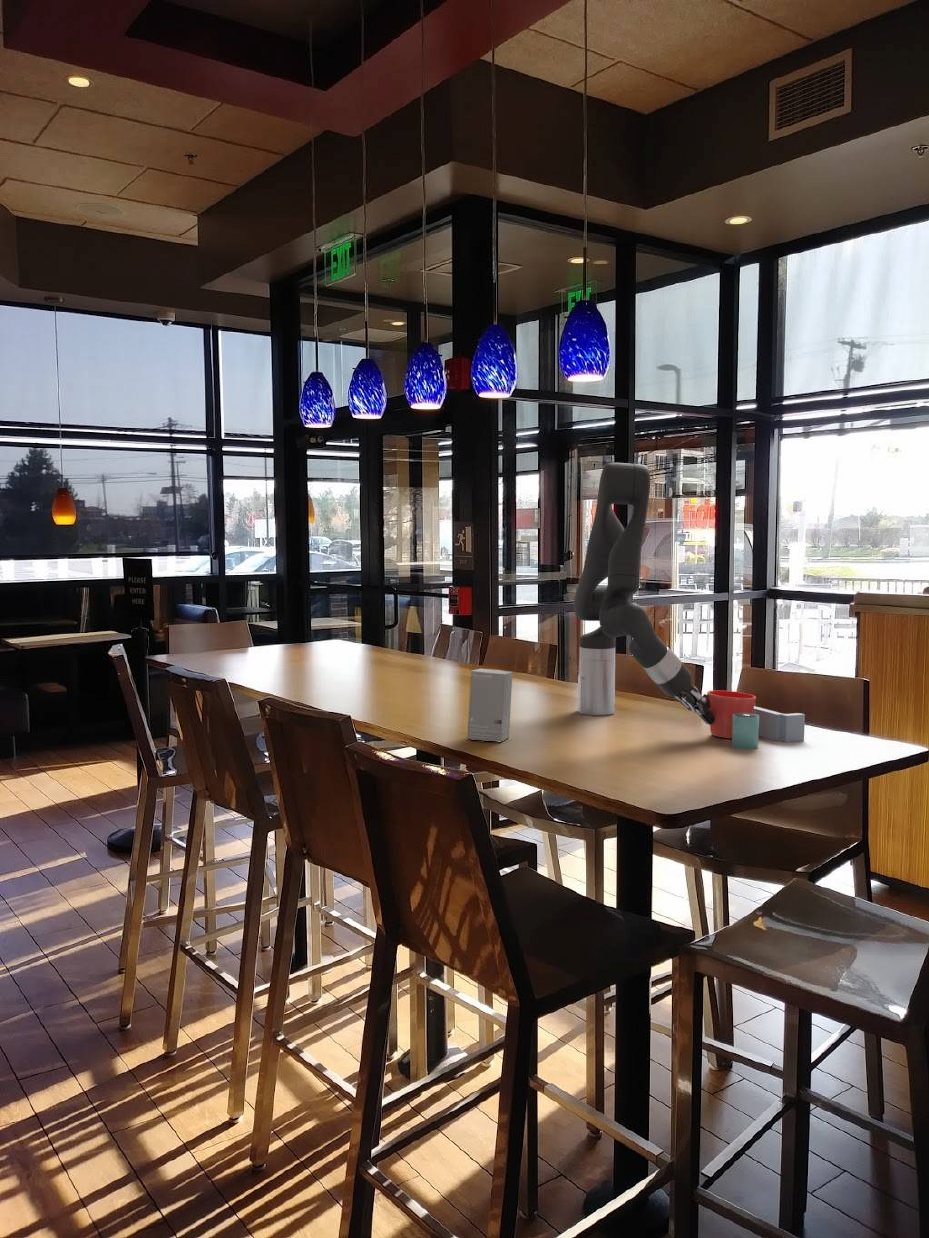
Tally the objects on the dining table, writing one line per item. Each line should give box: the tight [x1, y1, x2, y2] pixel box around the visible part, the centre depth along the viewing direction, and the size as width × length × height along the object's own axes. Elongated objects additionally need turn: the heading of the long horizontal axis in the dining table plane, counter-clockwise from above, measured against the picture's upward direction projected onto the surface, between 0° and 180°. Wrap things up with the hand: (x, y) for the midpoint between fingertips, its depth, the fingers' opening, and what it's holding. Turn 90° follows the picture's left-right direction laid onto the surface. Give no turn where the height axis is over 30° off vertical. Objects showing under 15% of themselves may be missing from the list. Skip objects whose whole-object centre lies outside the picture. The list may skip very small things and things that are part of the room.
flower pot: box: [706, 689, 757, 739], centre depth 232 cm, size 11×11×10 cm
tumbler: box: [731, 713, 759, 750], centre depth 221 cm, size 6×6×7 cm
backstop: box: [752, 704, 806, 743], centre depth 236 cm, size 6×20×6 cm, turn 21°
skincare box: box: [467, 668, 514, 742], centre depth 227 cm, size 8×7×16 cm
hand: (711, 721), depth 231 cm, fingers closed
